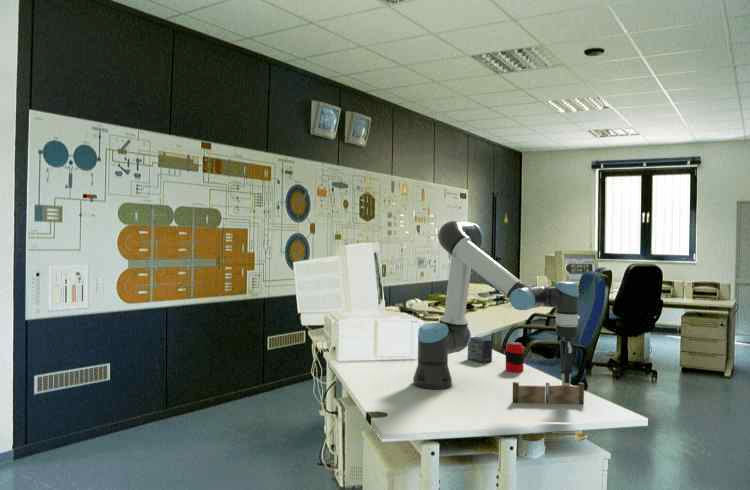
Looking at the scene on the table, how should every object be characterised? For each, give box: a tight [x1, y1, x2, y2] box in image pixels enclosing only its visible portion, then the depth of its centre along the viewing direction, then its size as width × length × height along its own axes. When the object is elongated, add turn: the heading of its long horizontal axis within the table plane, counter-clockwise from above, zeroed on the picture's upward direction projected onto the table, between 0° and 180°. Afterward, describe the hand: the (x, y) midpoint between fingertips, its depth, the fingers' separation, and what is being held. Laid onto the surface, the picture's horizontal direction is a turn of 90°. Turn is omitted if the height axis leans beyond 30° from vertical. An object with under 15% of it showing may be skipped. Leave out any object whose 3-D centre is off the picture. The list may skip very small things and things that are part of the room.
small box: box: [467, 336, 493, 364], centre depth 262 cm, size 11×6×10 cm, turn 34°
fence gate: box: [544, 382, 585, 405], centre depth 192 cm, size 13×2×7 cm, turn 89°
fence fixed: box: [512, 381, 546, 404], centre depth 193 cm, size 11×2×7 cm, turn 89°
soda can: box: [505, 341, 525, 373], centre depth 242 cm, size 8×8×12 cm
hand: (566, 391), depth 197 cm, fingers closed
